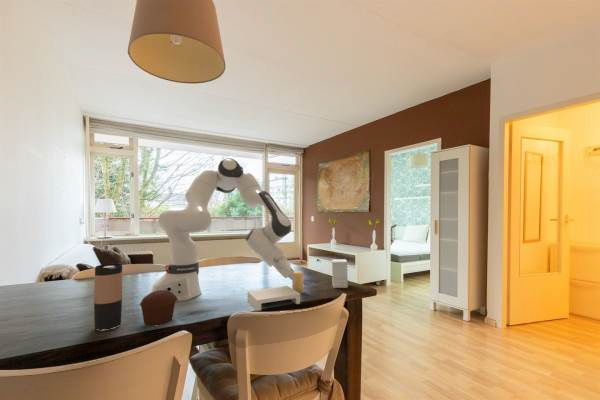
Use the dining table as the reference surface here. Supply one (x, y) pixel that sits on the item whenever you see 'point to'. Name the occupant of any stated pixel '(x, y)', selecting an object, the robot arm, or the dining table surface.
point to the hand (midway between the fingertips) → (295, 278)
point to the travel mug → (108, 296)
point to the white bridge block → (272, 296)
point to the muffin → (158, 307)
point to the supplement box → (339, 273)
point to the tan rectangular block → (298, 282)
